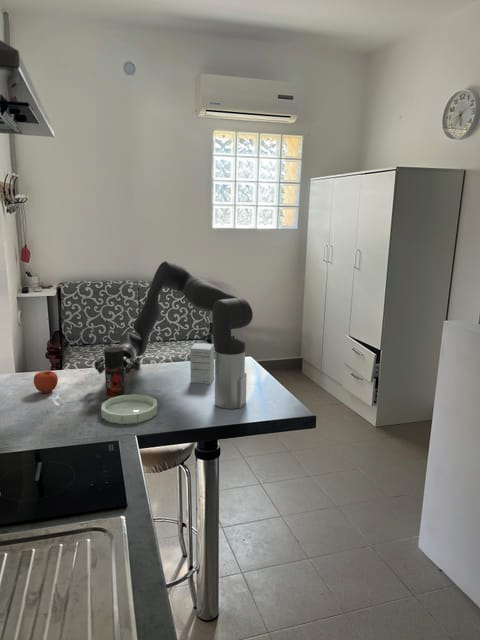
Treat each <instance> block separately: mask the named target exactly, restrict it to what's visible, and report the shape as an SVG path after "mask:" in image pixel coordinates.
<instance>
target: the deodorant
mask: <svg viewBox="0 0 480 640" xmlns="http://www.w3.org/2000/svg"><path fill="white" fill-rule="evenodd" d="M103 352H104V353H103V354H104V357H103V359H104V360H105V364H104V367H105V370H104V375H105V393H106V394H105V395H106V396H107V397H109V398H114V397H117V396H121V395H122V396H123V395H126V391H125V389H126V388H125V370H124V360H123V348H120V347H119V346H111V347H107V348H105V349H104V350H103Z"/></svg>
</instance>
